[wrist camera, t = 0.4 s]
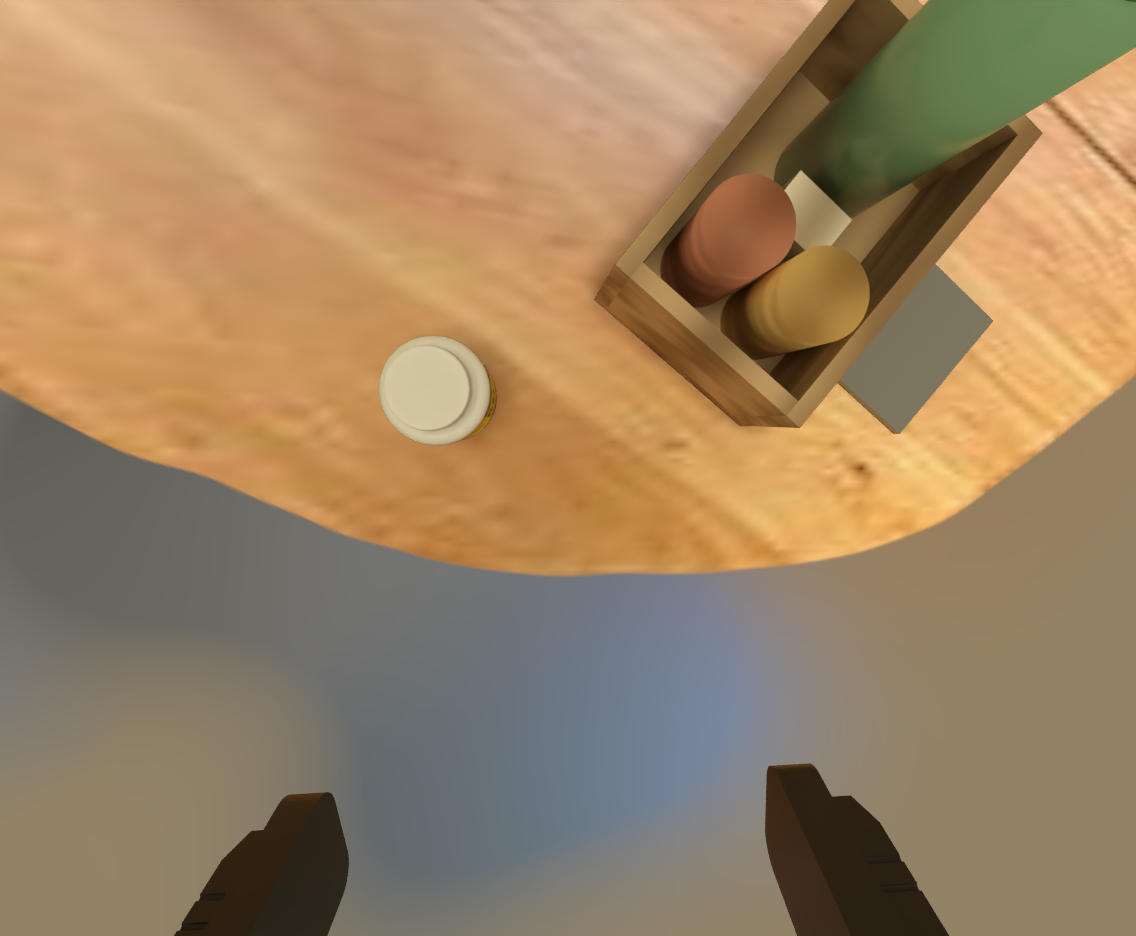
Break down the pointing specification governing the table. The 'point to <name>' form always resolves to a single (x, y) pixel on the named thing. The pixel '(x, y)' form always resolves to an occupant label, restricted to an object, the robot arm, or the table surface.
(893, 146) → the green bottle
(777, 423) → the crate
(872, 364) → the coaster
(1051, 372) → the table surface
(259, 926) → the robot arm
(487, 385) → the supplement bottle
